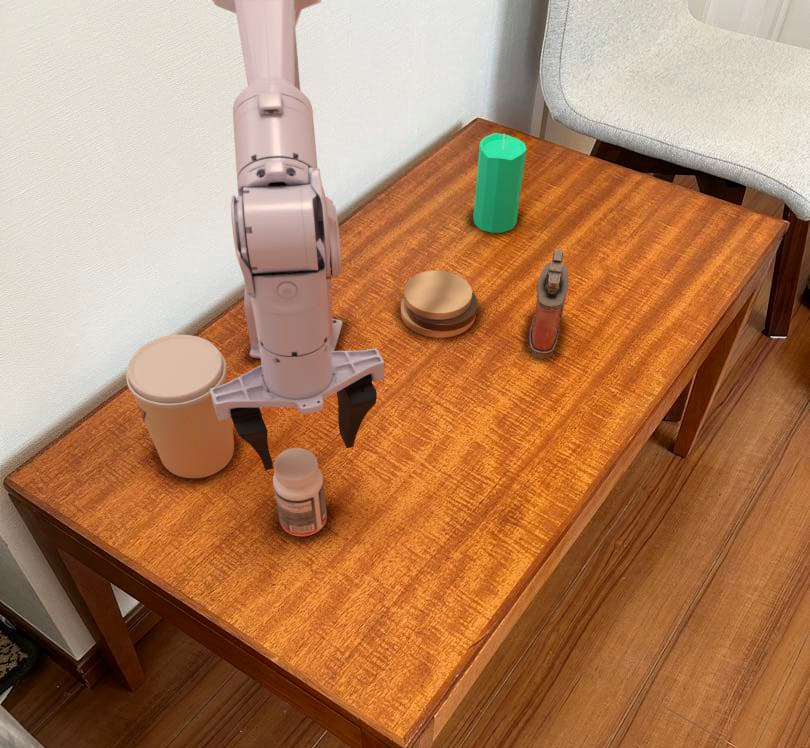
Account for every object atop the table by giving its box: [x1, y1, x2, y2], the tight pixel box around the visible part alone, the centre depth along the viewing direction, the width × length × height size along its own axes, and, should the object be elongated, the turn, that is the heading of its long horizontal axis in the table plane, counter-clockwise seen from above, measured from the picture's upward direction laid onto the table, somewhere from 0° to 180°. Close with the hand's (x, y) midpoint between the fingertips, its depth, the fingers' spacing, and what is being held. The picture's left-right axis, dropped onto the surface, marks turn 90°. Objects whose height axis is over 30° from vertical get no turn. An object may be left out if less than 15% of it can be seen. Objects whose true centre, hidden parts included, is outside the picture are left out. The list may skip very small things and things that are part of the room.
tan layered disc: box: [400, 269, 479, 339], centre depth 102 cm, size 9×9×3 cm
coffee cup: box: [125, 334, 235, 479], centre depth 85 cm, size 9×9×12 cm
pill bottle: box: [272, 447, 328, 537], centre depth 81 cm, size 5×5×8 cm
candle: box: [473, 132, 527, 234], centre depth 111 cm, size 6×6×12 cm
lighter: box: [528, 248, 570, 359], centre depth 97 cm, size 8×3×10 cm, turn 169°
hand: (307, 451), depth 77 cm, fingers open, 7 cm apart
